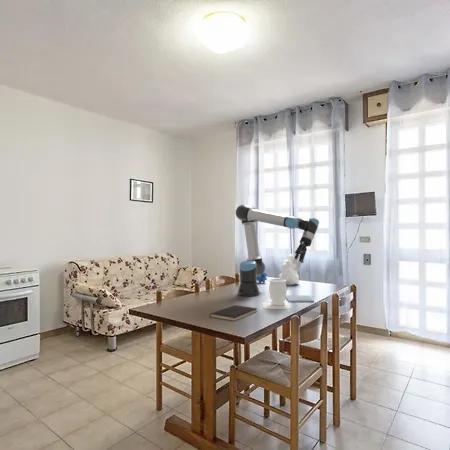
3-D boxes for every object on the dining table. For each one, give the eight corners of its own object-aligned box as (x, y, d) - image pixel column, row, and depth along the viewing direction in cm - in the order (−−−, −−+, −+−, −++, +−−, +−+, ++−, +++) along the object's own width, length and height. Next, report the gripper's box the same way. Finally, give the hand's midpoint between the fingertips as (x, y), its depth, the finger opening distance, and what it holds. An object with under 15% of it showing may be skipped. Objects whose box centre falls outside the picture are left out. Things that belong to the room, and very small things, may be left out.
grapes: (252, 283, 285) (252, 269, 285) (254, 282, 291) (254, 268, 291) (265, 284, 280) (265, 269, 280) (267, 282, 286) (267, 268, 286)
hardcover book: (257, 312, 189) (257, 308, 189) (234, 321, 171) (234, 317, 171) (234, 308, 199) (233, 304, 199) (210, 317, 180) (210, 313, 180)
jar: (273, 306, 199) (273, 281, 199) (266, 303, 209) (266, 279, 209) (289, 305, 201) (289, 280, 202) (282, 301, 211) (282, 278, 212)
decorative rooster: (287, 281, 290) (286, 253, 291) (303, 283, 280) (302, 253, 280) (270, 285, 272) (270, 255, 272) (287, 287, 261) (286, 256, 262)
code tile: (263, 308, 195) (263, 308, 195) (262, 302, 211) (262, 302, 211) (291, 308, 194) (291, 308, 194) (287, 302, 210) (287, 302, 210)
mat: (288, 302, 212) (288, 300, 212) (285, 296, 227) (285, 295, 227) (313, 302, 210) (313, 300, 210) (309, 296, 226) (309, 295, 226)
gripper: (310, 233, 216) (298, 262, 210) (313, 247, 237) (302, 274, 231) (299, 229, 219) (287, 258, 213) (303, 244, 240) (292, 271, 234)
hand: (295, 267), depth 222 cm, fingers open, 13 cm apart
